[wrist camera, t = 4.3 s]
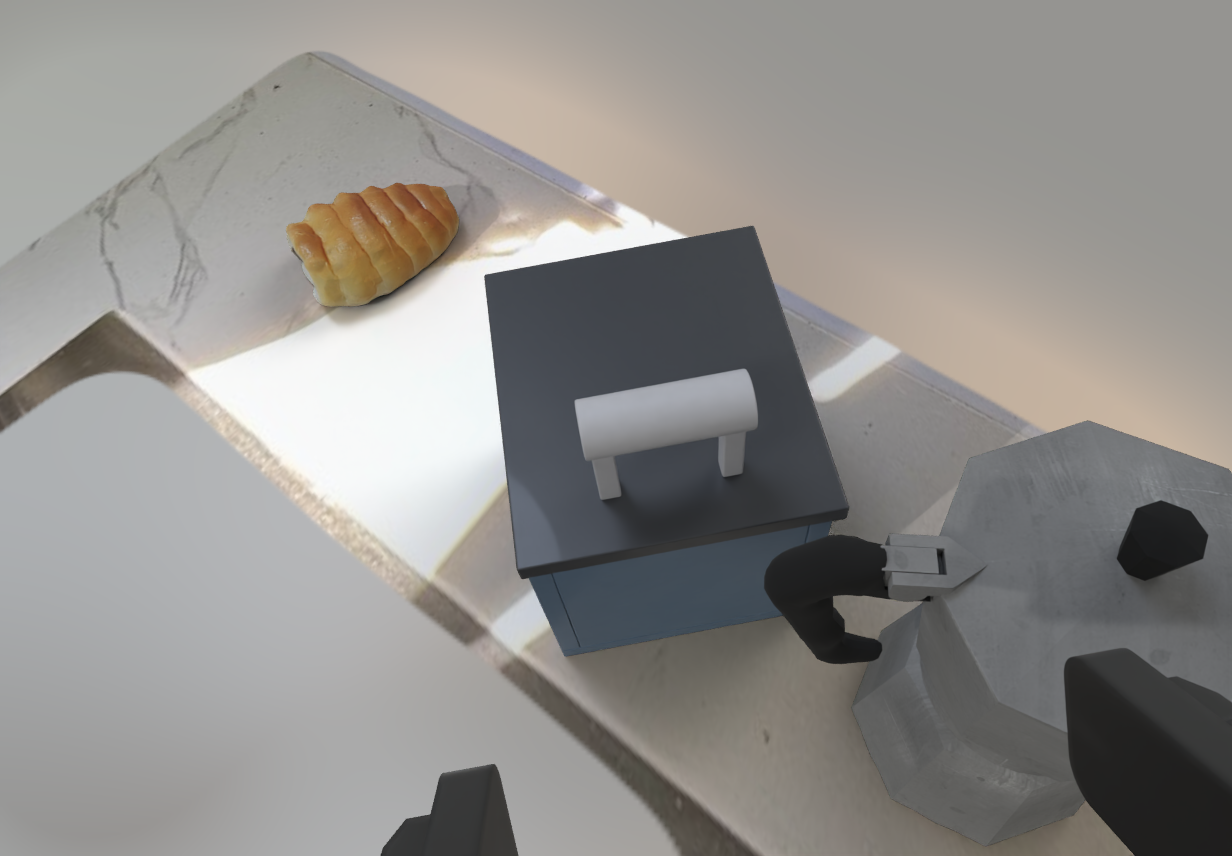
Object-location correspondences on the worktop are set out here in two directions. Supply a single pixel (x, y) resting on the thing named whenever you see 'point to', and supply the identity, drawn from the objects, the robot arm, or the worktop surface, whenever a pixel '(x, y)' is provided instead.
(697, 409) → the grey box lid
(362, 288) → the pastry
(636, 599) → the blue-grey box
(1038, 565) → the coffeepot
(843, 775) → the worktop surface
